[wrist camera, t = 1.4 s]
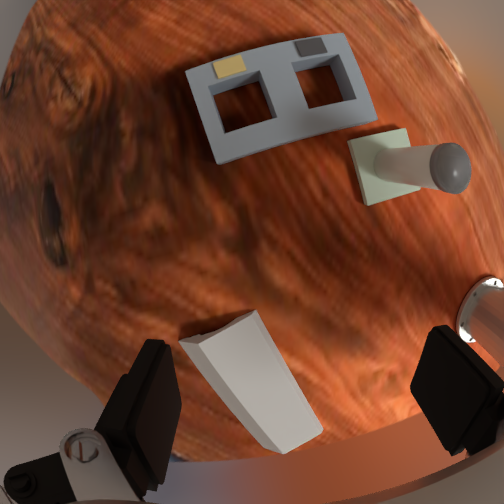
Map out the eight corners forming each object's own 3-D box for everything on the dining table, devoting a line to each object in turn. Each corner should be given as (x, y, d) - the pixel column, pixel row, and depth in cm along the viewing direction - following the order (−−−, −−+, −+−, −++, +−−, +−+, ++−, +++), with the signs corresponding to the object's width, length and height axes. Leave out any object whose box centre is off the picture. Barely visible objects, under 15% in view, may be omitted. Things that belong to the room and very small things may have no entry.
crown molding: (323, 426, 45) (326, 440, 41) (263, 445, 46) (264, 459, 43) (254, 307, 38) (254, 320, 34) (177, 339, 39) (171, 353, 36)
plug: (397, 145, 30) (465, 139, 17) (405, 178, 31) (474, 188, 18) (368, 152, 30) (431, 147, 18) (377, 186, 31) (441, 199, 19)
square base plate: (401, 128, 30) (405, 127, 29) (415, 188, 32) (420, 189, 31) (346, 140, 31) (350, 140, 30) (364, 204, 33) (367, 205, 32)
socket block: (334, 45, 27) (344, 31, 23) (364, 124, 30) (379, 119, 26) (192, 81, 29) (184, 70, 25) (220, 164, 32) (216, 164, 28)
